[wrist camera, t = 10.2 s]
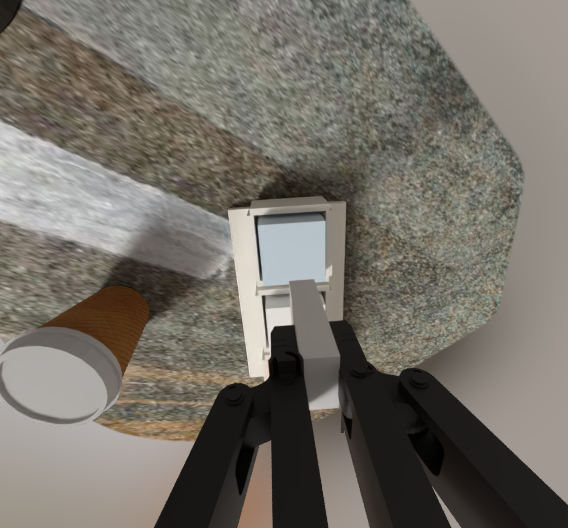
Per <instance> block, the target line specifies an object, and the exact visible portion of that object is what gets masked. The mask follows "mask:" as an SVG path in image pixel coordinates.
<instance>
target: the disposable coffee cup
mask: <svg viewBox="0 0 568 528" xmlns="http://www.w3.org/2000/svg"><path fill="white" fill-rule="evenodd" d="M149 315H150V310H149V306H148V304H147V302H146V300H145V299H144V298H143V296H142V295H141V294H139V293H138V292H137V291H135V290H133V289H131V288H129V287H125V286H120V285H112V286H108V287H105V288H103V289H101V290H100V291H98V292H97V293H95V294H93V295H92V296H90V297H88V298H87V299H85V300H83V301H82V302H80V303H78V304H77V305H75V306H73V307H72V308H70V309H69V310H67V311H65V312H63V313H62V314H60V315H58V316H57V317H55V318H54V319H52V320H50V321H49V322H47V323H45V324H44V325H42V326H40V327H39V328H37V329H34V330H31V331H26V332H24V333H22V334H19V335H17V336H15V337H14V338H12V339H11V340H9V341H8V342H7V343H6V344H5V345H4V346H3V347H2V349H1V351H0V401H1V402H2V403H3V404H4V405H5V406H6V407H7V408H8V409H10V410H11V411H13V412H14V413H16V414H17V415H19V416H21V417H23V418H24V419H27V420H29V421H32V422H34V423H38V424H41V425H46V426H51V427H73V426H78V425H82V424H86V423H88V422H90V421H92V420H94V419H95V418H97V417H98V416H99V415H100V414H101V413H102V412H104V411H105V410H107V409H109V408H110V407H111V406H112V405H113V404H114V403H115V402H116V400H117V398H118V397H119V394H120V392H121V387H122V377H123V375H124V372H125V371H126V367H127V366H128V363H129V362H130V359H131V357H132V354H133V353H134V349H135V348H136V345H137V343H138V341H139V339H140V337H141V334H142V332H143V330H144V327H145V325H146V323H147V321H148V319H149Z"/></svg>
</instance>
